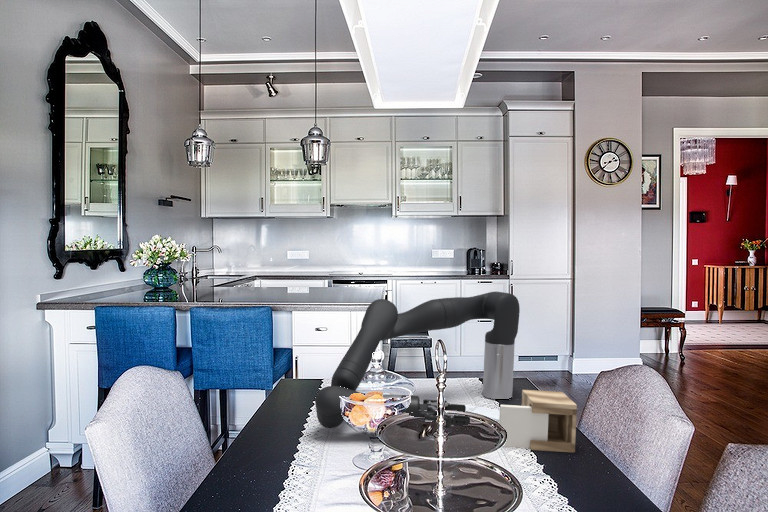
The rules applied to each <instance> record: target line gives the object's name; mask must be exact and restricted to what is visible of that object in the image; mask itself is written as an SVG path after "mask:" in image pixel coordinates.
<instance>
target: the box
mask: <svg viewBox="0 0 768 512" xmlns="http://www.w3.org/2000/svg"><path fill="white" fill-rule="evenodd" d="M520 406H532V413H543V414H549V417H548V439H547V441H538V440H531V441H530V448H529V449H530V451H542V452H543V451H544V452H557V453H558V452H560V453H561V452H562V453H576V437H577V436H576V434H577V433H576V432H577V431H576V430H577V411H578V410H577V409H578V405H577V403H575V402H574V401H573V400H572V399H571V398H570V397H569V396H567V395H566V394H565V393H564V392H563V391H554V390H553V391H552V390H537V389H536V390H535V389H534V390H533V389H521V405H520Z"/></svg>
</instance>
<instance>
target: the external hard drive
mask: <svg viewBox="0 0 768 512" xmlns="http://www.w3.org/2000/svg"><path fill="white" fill-rule="evenodd" d="M464 405H465V407H466V411H470V412H474V413H478V414H482V415H485V416H487V417H490V418H492V419H494V420H496V421H497V422H499V418H500V409H493V408H487V407H483V406H477V405H471V404H464Z"/></svg>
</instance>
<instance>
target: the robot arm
mask: <svg viewBox="0 0 768 512" xmlns="http://www.w3.org/2000/svg"><path fill="white" fill-rule="evenodd" d="M520 309H521V308H520V303H519V299H518V297H516V295H514V294H513V293H510V292H502V291H489V292H486V293H482V294H478V295H474V296H469V297H468V296H467V297H463V296H458V297H444V298H443V297H441V298H434V299H433V298H432V299H430V300H427V301H425V302H422V303H420V304H418V305H416V306H415V307H413V308H411V309H409V310H407V311H404V312H400V313H399V311H398V308H397V306H396V305H395V304H394V303H393V302H392V301H390V300H388V299H385V298H378V299H375V300H373V301H372V302H371V303H370V304H368V307H367V308H366V311H365V313H364V316H363V318H362V321H361V325H360V330H359V331H358V332H357V334H356V337H355V338H354V340H353V342H352V343H351V345H350V346H349V348H348V350H347V351H346V353H345V354H344V356H343V357H342V359H341V361H340V362H339V364H338V366H337V368H336V369H335V371H334V373H333V374H332V377H331V381H330V385H329V386H325V387H323V388H321V389H320V390H318V391H317V393H316V395H315V398H314V400H315V401H314V402H315V403H314V404H315V412H316V418H317V420H318V422H319V424H320V425H321V426H322V427H323V428H326V429H334V428H337V427H339V426H340V425H342V423H343V422H344V421H345V420H344V419H343V417H342V415H341V409H340V398H339V396H345V397H349V396H350V395H351V394H353V393H361V394H363V393H362V392H359V391H357V389H358V388H359V387H360V384H361V383H362V381H363V378H364V377H365V375H366V372H367V371H368V368H369V367H370V364H371V362H372V360H373V357H372V353H373V352H376V350H377V349H378V346H379V344H380V342H381V341H387V340H391V339H395V338H399V337H404V336H405V335H411V334H417V333H423V332H424V333H425V332H429V331H438V330H446V329H453V328H456V327H459V326H461V325H463V324H465V323H466V322H468V321H471V320H472V321H473V320H492V321H493V327H492V329H491V330H489V331H487V332H486V333H485V336H484V358H483V359H484V360H483V362H484V363H483V375H482V376H483V380H482V396H483V397H484V396H485V397H484V398H487V399H490V398H491V399H490V400H495V399H509V398H511V397H512V398H513V389H514V387H513V385H514V367H515V366H514V363H515V361H514V360H515V344H516V343H515V340H516V337H517V335H518V333H519V322H520V311H521V310H520ZM374 354H375V353H373V356H374ZM340 386H341V387H340ZM344 387H345V388H344ZM347 388H348V389H347ZM382 395H383V397H384V398H385V399H392V398H403V397H406V396H409V394H391V393H390V394H382ZM420 400H421V399H420V396H418V395H411V403H410V405H409V407H408V408H407V409H406V410H405V411H404V412H406V413H409V415H411V416H414V417H425V419H424V421H425V422H431V421H436V420H437V417H438V416H436V415H437V411H435V410H437V400H438V399H422V403H421V401H420ZM444 400H445V399H444ZM509 400H510V399H509ZM424 410H427V411H424ZM445 410H457V411H463V412H466V407H465V404H458V403H451V402H448V401H447V400H445ZM411 412H413V413H411ZM444 422H445V424H446V425H444V427H445V428H451V429H452V427H451V426H452V425H453V426H455V425H468V424H470V425H471V417H469V416H465V415H456V414H450V413H449V414H448V413H446V412H445V411H444Z"/></svg>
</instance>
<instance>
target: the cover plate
mask: <svg viewBox="0 0 768 512" xmlns="http://www.w3.org/2000/svg"><path fill="white" fill-rule="evenodd" d="M499 410H500V418H499V423H498V425H499V424H500V425H501V426H502V427H503V428H504V429H505V430H506V432H507V441H506V443H505V445H504V446H503V447H505V448H522V449H523V448H524V449H530V441H531V440H538V441H547V439H548V417H549V414H543V413H532V406H521V405H516V404H515V405H513V404H500V405H499Z"/></svg>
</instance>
